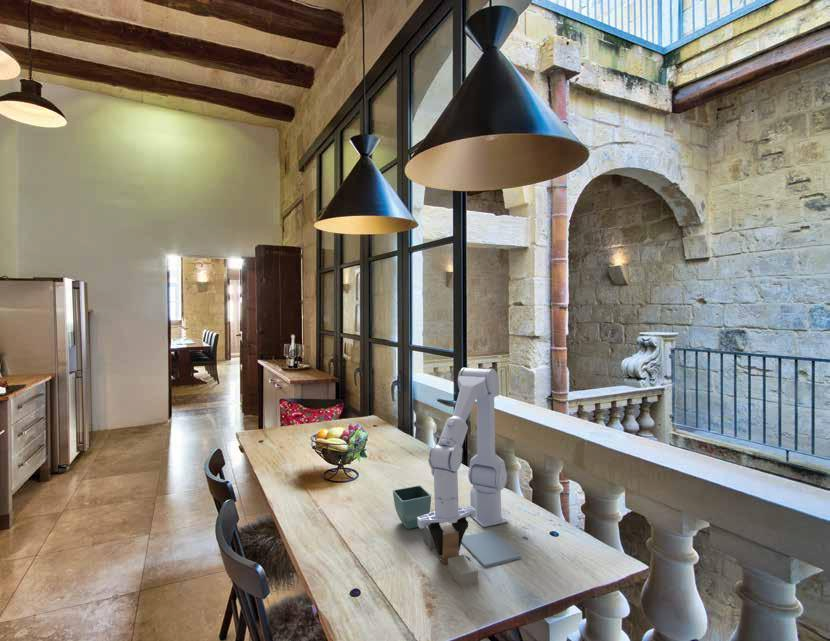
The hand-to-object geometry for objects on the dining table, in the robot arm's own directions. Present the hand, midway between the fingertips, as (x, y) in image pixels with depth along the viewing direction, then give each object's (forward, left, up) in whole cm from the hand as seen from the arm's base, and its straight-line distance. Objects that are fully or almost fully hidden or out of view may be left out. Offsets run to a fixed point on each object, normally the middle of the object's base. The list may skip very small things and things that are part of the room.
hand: (447, 551), depth 108 cm
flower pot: (-20, -2, -2) cm, 20 cm away
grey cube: (-8, 0, -2) cm, 8 cm away
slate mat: (0, +11, -2) cm, 11 cm away
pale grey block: (+8, 0, -2) cm, 8 cm away
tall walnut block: (0, 0, -2) cm, 2 cm away
